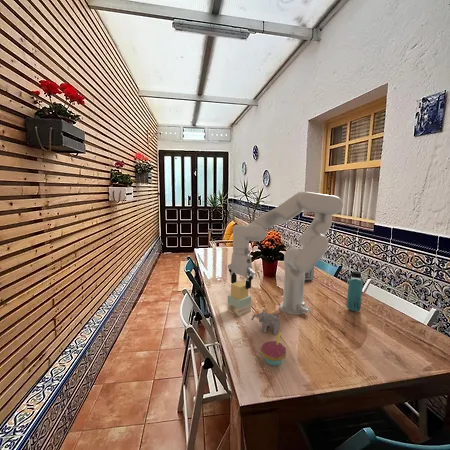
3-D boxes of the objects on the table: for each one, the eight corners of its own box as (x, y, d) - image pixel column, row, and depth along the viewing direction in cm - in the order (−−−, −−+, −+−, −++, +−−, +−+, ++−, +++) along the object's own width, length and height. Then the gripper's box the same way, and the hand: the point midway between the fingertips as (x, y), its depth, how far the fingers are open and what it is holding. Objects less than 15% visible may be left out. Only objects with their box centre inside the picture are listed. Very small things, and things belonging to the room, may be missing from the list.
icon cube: (313, 280, 171) (314, 265, 169) (298, 280, 170) (299, 265, 168) (306, 274, 181) (307, 261, 179) (293, 275, 179) (293, 261, 178)
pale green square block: (250, 304, 125) (251, 296, 125) (239, 309, 120) (239, 300, 119) (239, 298, 131) (239, 291, 131) (227, 303, 126) (227, 295, 125)
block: (248, 296, 125) (248, 284, 124) (240, 299, 121) (240, 287, 120) (239, 292, 129) (239, 280, 128) (230, 295, 125) (231, 283, 124)
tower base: (250, 312, 126) (250, 304, 125) (239, 317, 120) (239, 309, 120) (239, 306, 132) (239, 298, 131) (227, 311, 126) (227, 303, 126)
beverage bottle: (352, 315, 124) (356, 275, 121) (342, 308, 130) (346, 270, 127) (363, 313, 126) (367, 274, 123) (353, 307, 132) (357, 269, 129)
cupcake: (282, 354, 93) (283, 323, 92) (288, 371, 85) (290, 337, 83) (258, 354, 93) (259, 323, 91) (262, 371, 85) (264, 337, 83)
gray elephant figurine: (282, 336, 105) (282, 319, 104) (252, 335, 105) (253, 318, 104) (277, 324, 114) (278, 308, 113) (250, 324, 114) (251, 307, 113)
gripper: (260, 252, 118) (259, 288, 120) (233, 246, 130) (233, 279, 133) (249, 255, 113) (249, 293, 115) (222, 249, 125) (223, 282, 128)
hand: (240, 285), depth 124 cm, fingers open, 9 cm apart
